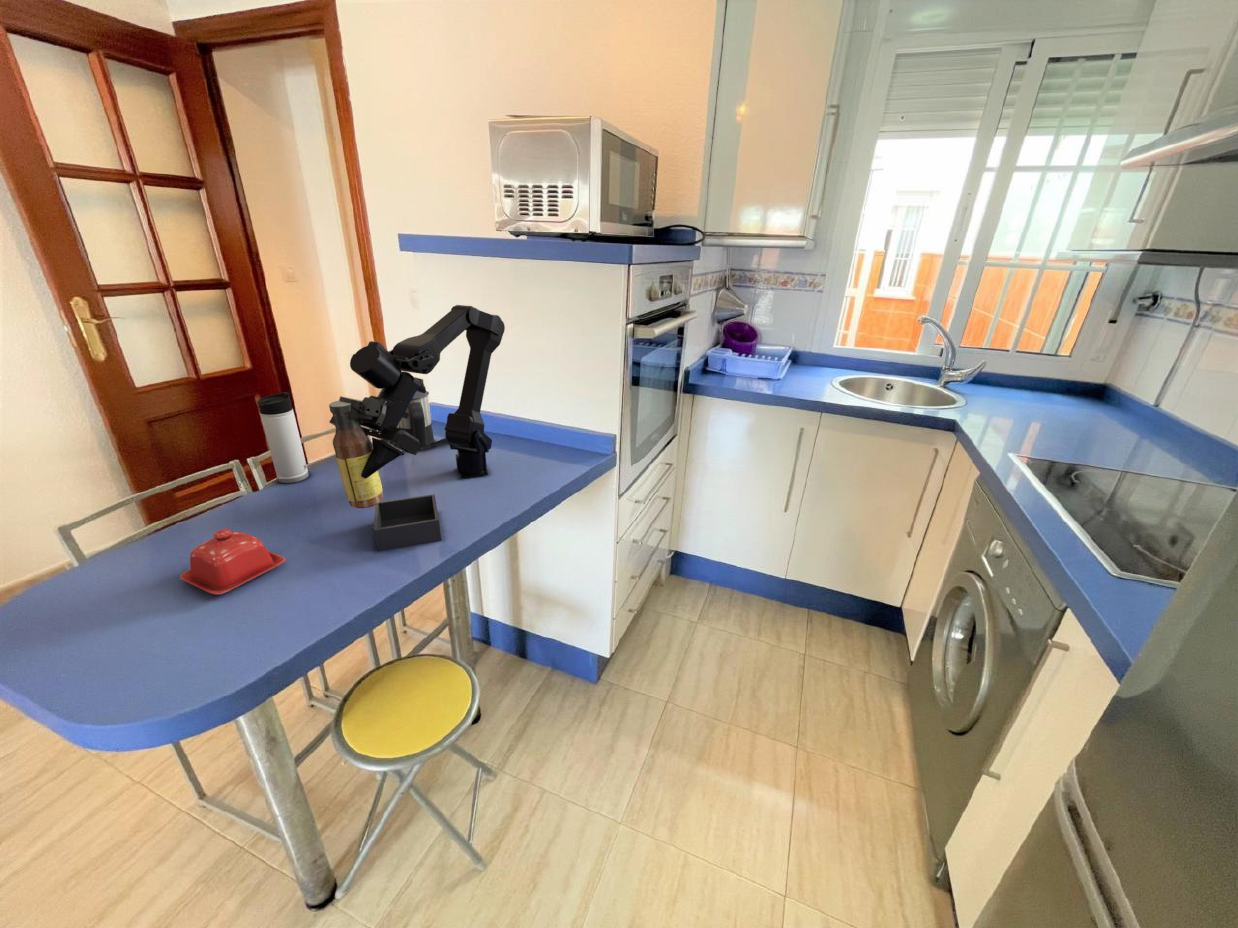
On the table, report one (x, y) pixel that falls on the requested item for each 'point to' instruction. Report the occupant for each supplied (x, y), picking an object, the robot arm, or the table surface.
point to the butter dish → (229, 562)
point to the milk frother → (420, 421)
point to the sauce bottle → (354, 458)
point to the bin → (406, 522)
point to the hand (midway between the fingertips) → (352, 473)
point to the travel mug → (283, 437)
